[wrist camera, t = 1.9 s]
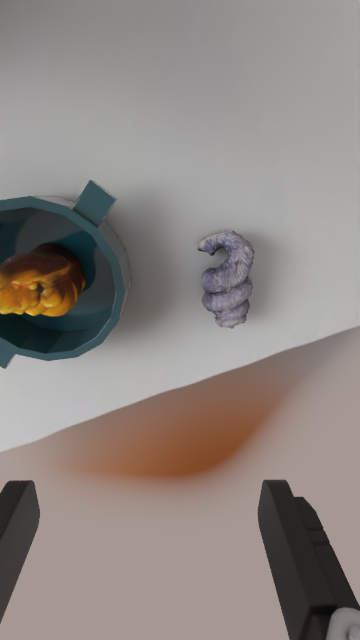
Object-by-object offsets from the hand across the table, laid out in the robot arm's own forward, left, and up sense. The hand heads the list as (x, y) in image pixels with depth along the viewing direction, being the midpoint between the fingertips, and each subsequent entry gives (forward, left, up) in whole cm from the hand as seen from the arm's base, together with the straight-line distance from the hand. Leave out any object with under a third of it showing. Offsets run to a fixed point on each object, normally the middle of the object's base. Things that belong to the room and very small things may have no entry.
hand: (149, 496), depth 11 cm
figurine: (-10, -5, -24) cm, 26 cm away
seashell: (+4, +5, -25) cm, 25 cm away
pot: (-10, -5, -24) cm, 27 cm away
